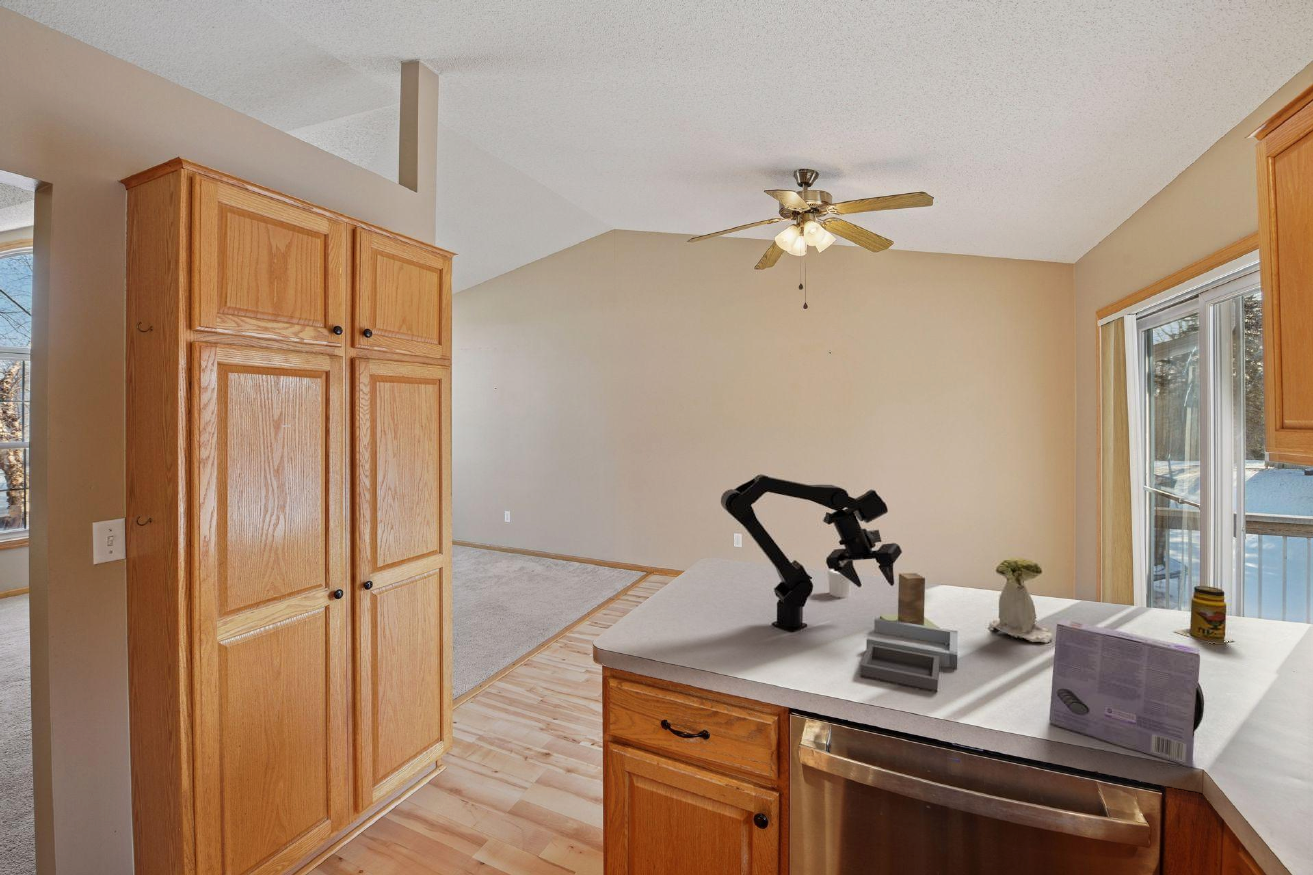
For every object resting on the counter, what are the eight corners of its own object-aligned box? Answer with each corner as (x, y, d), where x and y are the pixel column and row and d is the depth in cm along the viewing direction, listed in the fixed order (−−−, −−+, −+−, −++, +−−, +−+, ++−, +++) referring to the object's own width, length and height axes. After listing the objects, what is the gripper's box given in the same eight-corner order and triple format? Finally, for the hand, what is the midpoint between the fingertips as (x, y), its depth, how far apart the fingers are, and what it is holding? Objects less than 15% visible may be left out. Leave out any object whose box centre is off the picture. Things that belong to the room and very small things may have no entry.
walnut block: (906, 625, 143) (907, 578, 143) (897, 619, 148) (898, 573, 147) (923, 625, 144) (925, 578, 143) (915, 619, 148) (916, 573, 148)
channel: (866, 652, 129) (866, 638, 129) (875, 629, 142) (875, 617, 142) (957, 668, 120) (957, 654, 120) (957, 643, 134) (957, 630, 134)
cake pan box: (1201, 757, 90) (1206, 645, 89) (1202, 772, 86) (1207, 655, 85) (1053, 714, 103) (1056, 616, 102) (1048, 725, 99) (1051, 623, 98)
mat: (899, 633, 140) (899, 631, 140) (880, 617, 151) (880, 615, 151) (943, 632, 140) (943, 630, 140) (921, 616, 151) (921, 614, 151)
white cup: (854, 598, 166) (855, 574, 166) (830, 598, 166) (831, 574, 166) (847, 591, 173) (847, 568, 173) (824, 590, 173) (824, 567, 173)
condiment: (1214, 645, 133) (1216, 594, 133) (1172, 631, 142) (1174, 583, 141) (1235, 641, 136) (1237, 591, 135) (1192, 628, 144) (1194, 581, 143)
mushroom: (1037, 648, 131) (1040, 568, 130) (979, 630, 142) (981, 556, 141) (1060, 637, 138) (1062, 561, 137) (1002, 621, 148) (1004, 550, 148)
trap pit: (860, 676, 117) (860, 664, 117) (868, 654, 127) (868, 643, 127) (937, 692, 110) (937, 679, 110) (939, 668, 121) (939, 656, 121)
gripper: (897, 511, 143) (923, 566, 144) (834, 520, 157) (858, 570, 158) (878, 533, 136) (905, 591, 137) (814, 541, 150) (839, 593, 151)
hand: (876, 585), depth 146 cm, fingers open, 9 cm apart
